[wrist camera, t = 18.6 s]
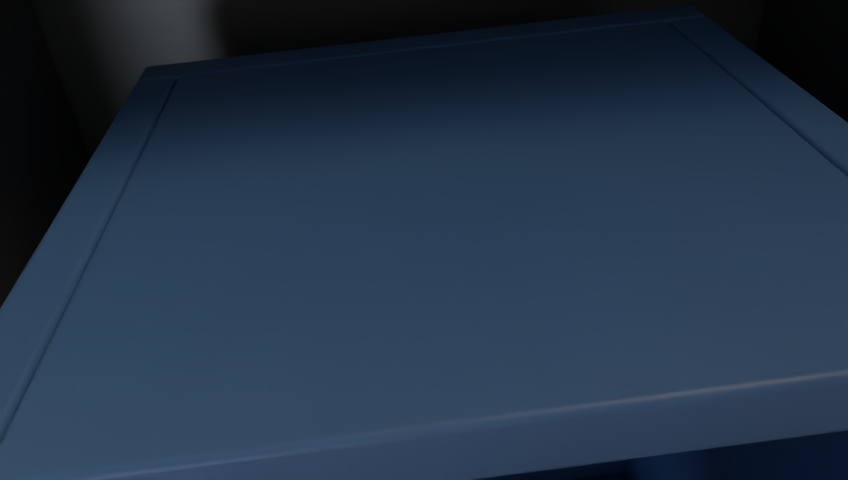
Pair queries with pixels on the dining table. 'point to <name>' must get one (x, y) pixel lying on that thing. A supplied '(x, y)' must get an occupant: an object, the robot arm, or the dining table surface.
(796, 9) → the base bin
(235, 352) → the nested bin
